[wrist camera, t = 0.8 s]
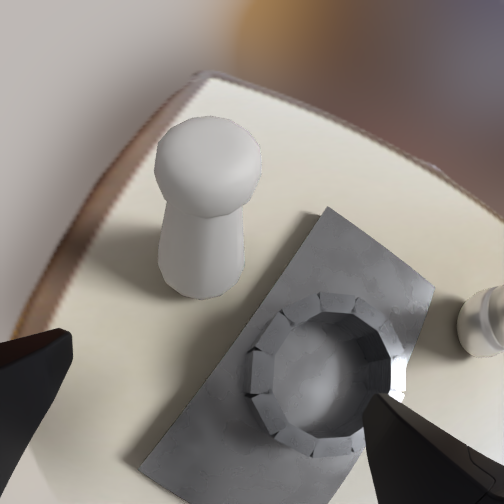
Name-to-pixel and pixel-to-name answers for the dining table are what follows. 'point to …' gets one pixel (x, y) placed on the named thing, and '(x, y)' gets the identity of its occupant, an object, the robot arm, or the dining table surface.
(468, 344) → the plastic bottle
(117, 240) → the dining table surface
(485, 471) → the robot arm
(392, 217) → the dining table surface
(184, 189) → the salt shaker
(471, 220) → the dining table surface
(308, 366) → the plate with ring
